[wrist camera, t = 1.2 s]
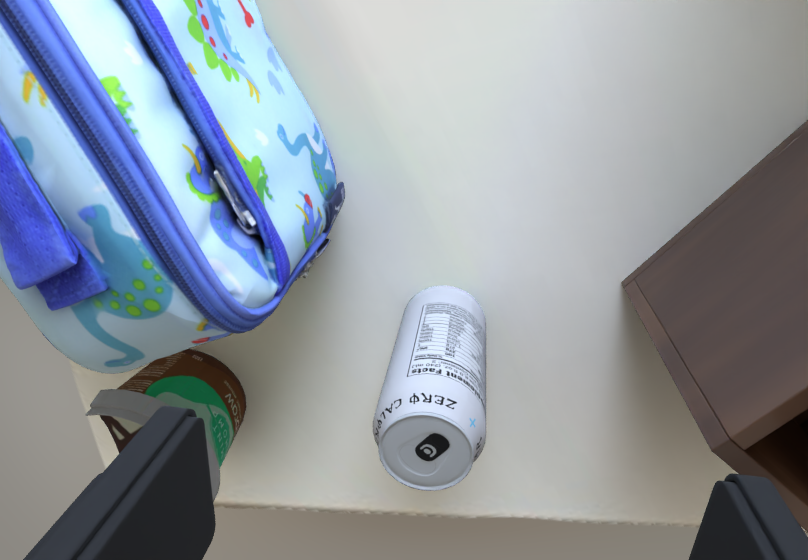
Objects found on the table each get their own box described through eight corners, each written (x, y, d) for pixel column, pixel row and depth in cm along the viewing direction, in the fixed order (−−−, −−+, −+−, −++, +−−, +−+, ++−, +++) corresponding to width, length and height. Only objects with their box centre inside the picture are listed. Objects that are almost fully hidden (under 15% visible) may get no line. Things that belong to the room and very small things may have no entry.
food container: (280, 445, 49) (233, 539, 40) (216, 453, 51) (158, 546, 42) (228, 321, 45) (163, 395, 36) (160, 333, 46) (81, 408, 37)
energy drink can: (388, 317, 43) (343, 451, 29) (442, 263, 41) (420, 382, 27) (447, 366, 44) (430, 517, 30) (503, 316, 42) (511, 456, 28)
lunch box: (376, 210, 40) (276, 376, 21) (247, 262, 43) (57, 450, 24) (175, -214, 31) (-298, -587, 12) (33, -113, 34) (-527, -290, 15)
